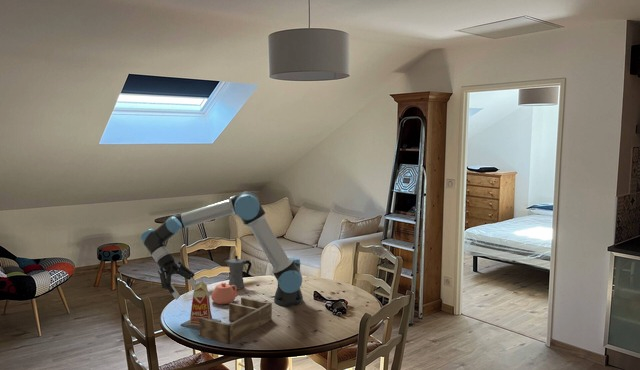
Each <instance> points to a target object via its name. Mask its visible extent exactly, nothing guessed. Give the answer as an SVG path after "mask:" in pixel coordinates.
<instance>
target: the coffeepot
mask: <svg viewBox="0 0 640 370" xmlns="http://www.w3.org/2000/svg"><path fill="white" fill-rule="evenodd" d="M238 257H239V256H238V255H234V258H232V259H226V260H224V262H225V263H226V265H227V267H228V268H229V269H228V270H229V273H230V274H229V280H228V284H229V285H230V286H231V285H235V286H236V287H237V290H239V289H242V288H244V287H245V284H244V283H245V282H244V277H243V272H244V266H245V264H246V265H247V269H246V272H244V275H246V276H247V275H249V274H250V271H251V268H252V262H251V261H250V260H245V259H242V258H238ZM232 288H233V290H235V287H232Z"/></svg>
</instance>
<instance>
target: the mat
mask: <svg viewBox="0 0 640 370" xmlns="http://www.w3.org/2000/svg"><path fill="white" fill-rule="evenodd" d="M212 320H214V321H219V322H222V320H220V319H217V318H213V317H212ZM180 326H181V327H186V328H189V329H192V330H197V331H199V326H198V325H190V319H189V320H187V321H185V322H183V323H180Z"/></svg>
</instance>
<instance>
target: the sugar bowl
mask: <svg viewBox="0 0 640 370" xmlns="http://www.w3.org/2000/svg"><path fill="white" fill-rule="evenodd" d="M232 287H235V289H233V288H232ZM237 290H238V289H237V287H236V286H235V285H231V286H230V285H229V283H227V282H221V283H220V284H217V285H216V286H215V287H214V289H213V291H212V293H211V300H212V302H213V303H214V304H217V305H219V306H221V305H226V304H227V305H229V304H230V303H233V302H234V301H235V300H236V297H238V295H239V293H238V291H237Z"/></svg>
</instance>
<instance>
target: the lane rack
mask: <svg viewBox="0 0 640 370" xmlns="http://www.w3.org/2000/svg"><path fill="white" fill-rule="evenodd" d="M272 307H273V304H272V302H268V301H263V300H259V299H254V298H249V297H244V296H242V297H240V304H239V303H238V304H237V303H233V302H231V303H228V320H229V321H232V322H231V323H226V322H223V321H221V322H219V321H214V320H210V319H206V318H202V317H201V318H199V330H198V336H199V337H201V338H205V339H209V340H211V341H212V340H213V341H217V342H221V343H224V344H229V345H231V344H233V343H235V342H236V341H238V340H240V339H241V338H243V337H245V336H246V335H248V334H249V333H251V332H253V331H254V330H256V329H258V328H260V327H261V326H263V325H264V324H266V323H268V322H269V321H271V320H272V317H273V316H272V315H273V314H272V313H273V312H272V311H273V308H272Z"/></svg>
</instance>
